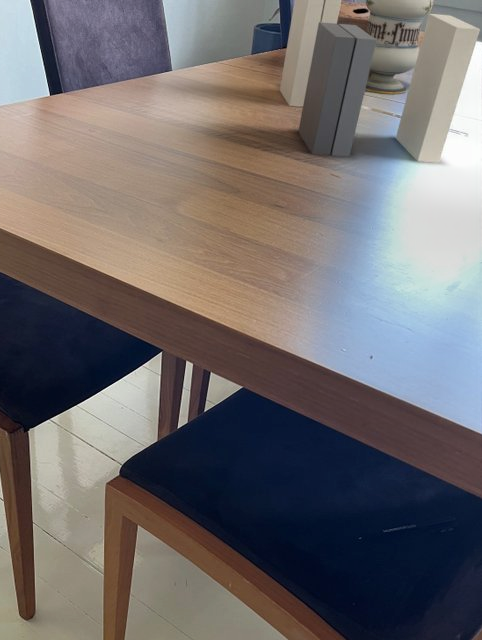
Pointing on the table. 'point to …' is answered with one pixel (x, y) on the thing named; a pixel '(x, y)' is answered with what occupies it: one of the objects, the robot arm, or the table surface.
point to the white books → (304, 45)
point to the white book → (436, 86)
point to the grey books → (335, 88)
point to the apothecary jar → (394, 40)
